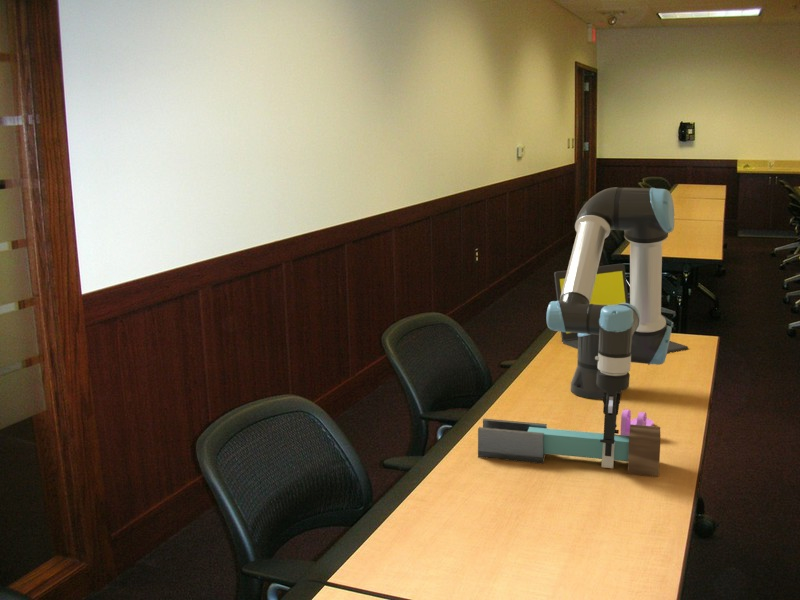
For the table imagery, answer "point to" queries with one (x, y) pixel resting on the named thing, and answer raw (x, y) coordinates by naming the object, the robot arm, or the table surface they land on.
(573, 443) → the bar
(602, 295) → the laptop
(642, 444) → the socket block
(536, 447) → the sleeve
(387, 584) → the table surface
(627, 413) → the bracket
